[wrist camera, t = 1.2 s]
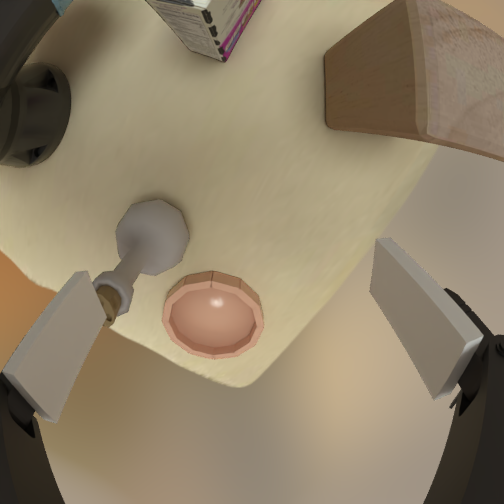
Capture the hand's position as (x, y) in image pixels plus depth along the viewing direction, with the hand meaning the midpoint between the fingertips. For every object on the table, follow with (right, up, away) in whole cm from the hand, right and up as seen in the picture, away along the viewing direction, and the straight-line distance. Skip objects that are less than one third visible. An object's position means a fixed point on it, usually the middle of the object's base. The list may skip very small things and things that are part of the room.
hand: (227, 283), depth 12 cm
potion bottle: (-11, +5, +22) cm, 25 cm away
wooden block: (+14, +20, +16) cm, 29 cm away
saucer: (-5, -8, +28) cm, 30 cm away
